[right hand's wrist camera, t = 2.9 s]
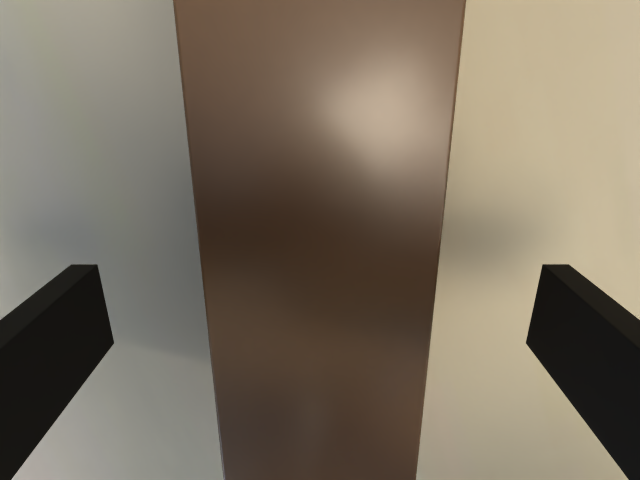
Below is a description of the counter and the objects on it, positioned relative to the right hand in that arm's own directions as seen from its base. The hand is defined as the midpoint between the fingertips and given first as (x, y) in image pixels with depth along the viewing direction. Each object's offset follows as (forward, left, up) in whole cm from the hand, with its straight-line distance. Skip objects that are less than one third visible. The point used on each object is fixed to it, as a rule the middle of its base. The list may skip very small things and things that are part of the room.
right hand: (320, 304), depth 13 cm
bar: (+14, -24, -5) cm, 28 cm away
